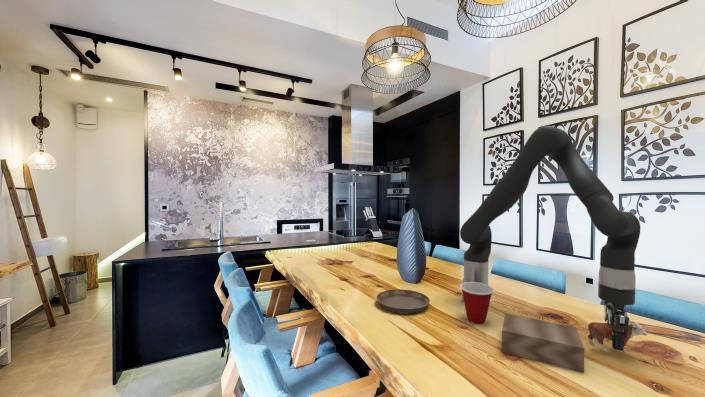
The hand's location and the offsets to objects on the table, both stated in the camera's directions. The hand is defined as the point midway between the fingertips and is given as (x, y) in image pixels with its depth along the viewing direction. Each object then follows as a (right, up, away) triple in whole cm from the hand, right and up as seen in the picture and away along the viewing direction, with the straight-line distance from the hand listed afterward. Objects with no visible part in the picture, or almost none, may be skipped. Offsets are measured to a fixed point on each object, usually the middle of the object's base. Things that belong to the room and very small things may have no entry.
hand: (614, 344), depth 80 cm
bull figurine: (0, -2, 0) cm, 2 cm away
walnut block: (-20, -2, +1) cm, 20 cm away
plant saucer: (-53, -2, +34) cm, 63 cm away
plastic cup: (-30, -2, +20) cm, 36 cm away
